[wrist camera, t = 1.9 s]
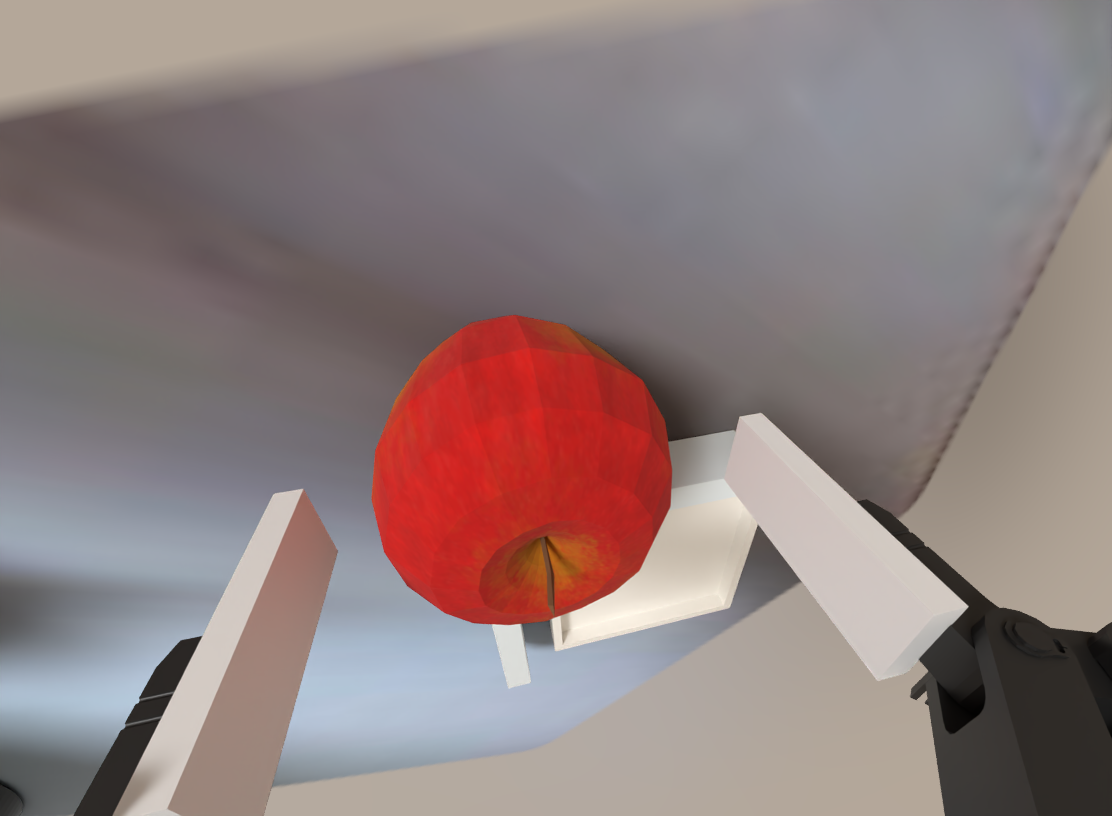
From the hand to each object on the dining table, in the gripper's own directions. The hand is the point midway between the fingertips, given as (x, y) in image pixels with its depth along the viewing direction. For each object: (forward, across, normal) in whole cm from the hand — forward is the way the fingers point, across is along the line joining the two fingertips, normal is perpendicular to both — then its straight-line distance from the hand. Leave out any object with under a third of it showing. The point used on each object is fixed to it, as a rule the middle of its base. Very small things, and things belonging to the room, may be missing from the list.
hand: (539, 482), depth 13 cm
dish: (+8, +8, -16) cm, 19 cm away
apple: (+8, 0, 0) cm, 8 cm away
